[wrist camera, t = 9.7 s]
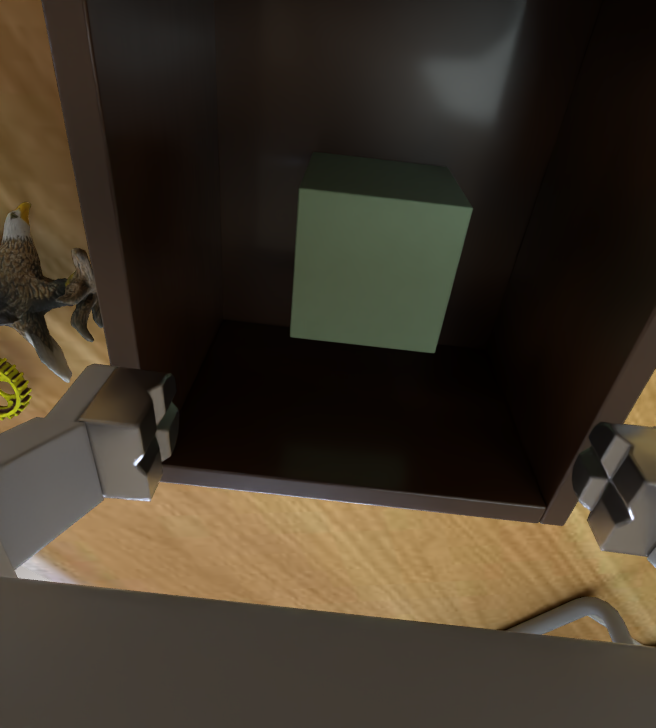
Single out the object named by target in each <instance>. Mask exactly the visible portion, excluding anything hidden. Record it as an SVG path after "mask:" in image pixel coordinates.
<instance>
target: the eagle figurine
mask: <svg viewBox="0 0 656 728" xmlns="http://www.w3.org/2000/svg"><path fill="white" fill-rule="evenodd" d="M30 207H31V204H30V203H27V202H24V203H22V204H20V205H19V206H18V207H17V208H16V209H15V210H14V211H11V212H10V213H8V215H7V217H6V220H5V225H4V232H3V239H2V243H1V246H0V326H2V325H5V326H9V327H12V328H14V329H16V330H17V331H18V332H19V333H20V334H21V335H22V336H23V337H24V338H25V339H26V340H27V341H28V342H29V343H30V344H32V345H33V346H34V347H35V350H36V352H37V354H38V356H39V358H40V360H41V362H42V363H44V364H45V365H46V366H47V367H48V368H49V369H50V370H52V371H53V372H54V373H55V374H56V375H58V376H59V377H60V378H62V379H63V380H64V381H65V382H68V383H69V382H70V378H71V376H72V372H71V370H70V368H69V367H68V365H67V361H66V359H65V357H64V353H63V351H62V349H61V347H60V346H59V345H58V343H57V342H56V341H55V340H54V339H53V338H52V336H51V335H50V334H49V330H48V328H47V325H46V322H45V318H44V315H45V313H46V312H48V311H50V310H51V309H53V308H57V307H59V308H60V307H62V306H73V305H76V304H77V305H76V309H75V311H74V312H73V314H72V317H71V325H72V326H73V327H74V328H75V329H76V330H77V331H78V332H79V333H80V334H81V336H82V337H83V338H85V339H86V340H87V341H90V342H93V341H94V339H93V337H92V335H91V334H90V333H89V331H88V329H87V320H88V317H89V314H90V311H91V310H92V314H93V319H94V321H95V322H96V324H97V325H98V326H99V327H100V328H103V322H102V317H101V312H100V307H99V301H98V296H97V291H96V286H95V280H94V275H93V270H92V267H91V264H90V261H89V259H88V256H87V253H86V251H85V250H83V249H80V248H74V249H72V258H73V261H74V265H75V267H76V269H77V270H76V271H75V272H74V273H73V274H72V275H71V276H70V277H69V278H68V279H66V278H64V279H57V280H52V279H49V278H46V277H45V276H43V274H42V270H41V266H40V260H39V257H38V254H37V251H36V248H35V246H34V244H33V240H32V237H31V234H30V225H29V220H28V214H29V208H30Z"/></svg>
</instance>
